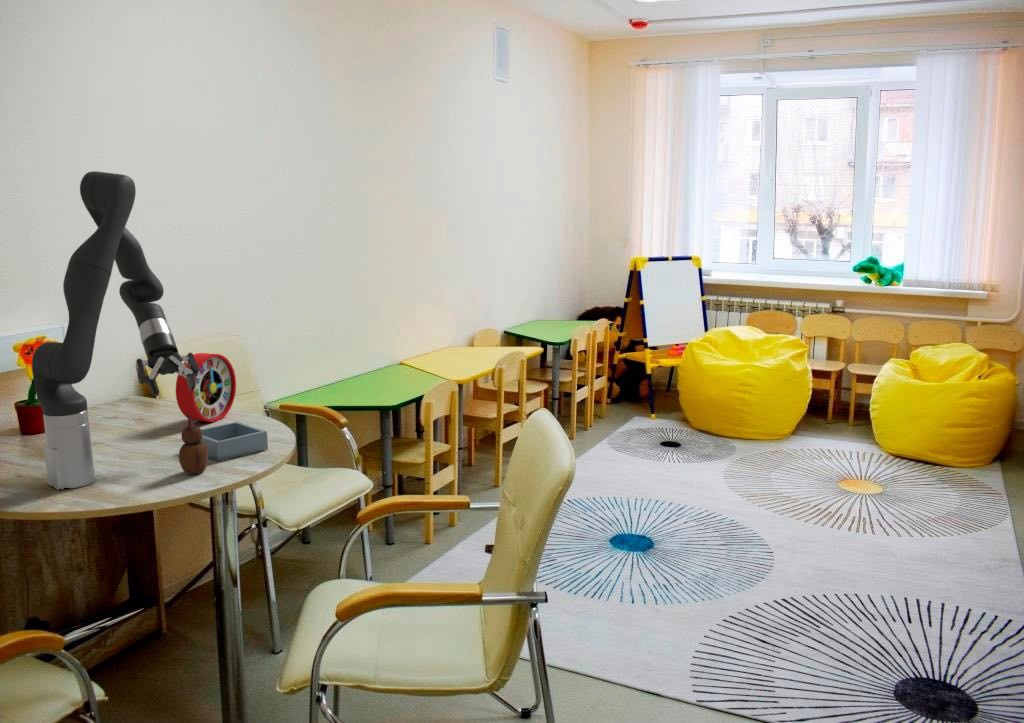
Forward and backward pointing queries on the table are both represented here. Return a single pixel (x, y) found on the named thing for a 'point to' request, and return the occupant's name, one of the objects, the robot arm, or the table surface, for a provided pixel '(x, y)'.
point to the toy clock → (208, 389)
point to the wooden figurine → (193, 449)
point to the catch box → (233, 440)
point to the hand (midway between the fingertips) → (175, 391)
